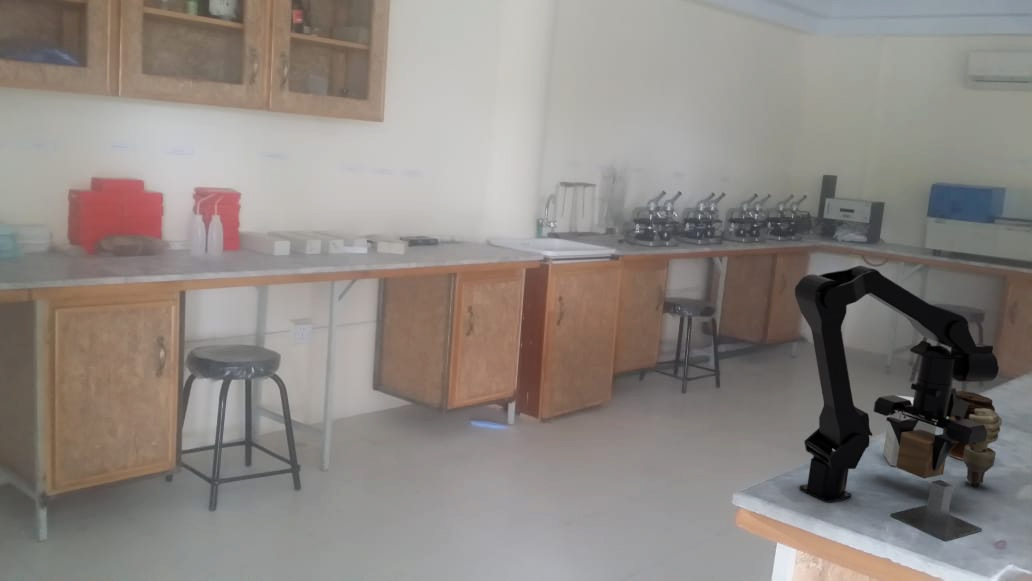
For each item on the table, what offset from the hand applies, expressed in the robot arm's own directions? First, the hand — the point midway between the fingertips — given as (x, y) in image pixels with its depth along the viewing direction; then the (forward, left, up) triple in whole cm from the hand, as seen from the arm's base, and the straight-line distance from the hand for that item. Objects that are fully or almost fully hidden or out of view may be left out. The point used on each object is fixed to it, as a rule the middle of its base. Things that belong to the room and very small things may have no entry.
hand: (920, 464), depth 160 cm
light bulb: (+15, -2, -6) cm, 16 cm away
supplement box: (+13, +11, -6) cm, 18 cm away
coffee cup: (+29, +9, -6) cm, 31 cm away
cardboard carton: (0, 0, -1) cm, 1 cm away
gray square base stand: (-9, -10, -5) cm, 15 cm away
